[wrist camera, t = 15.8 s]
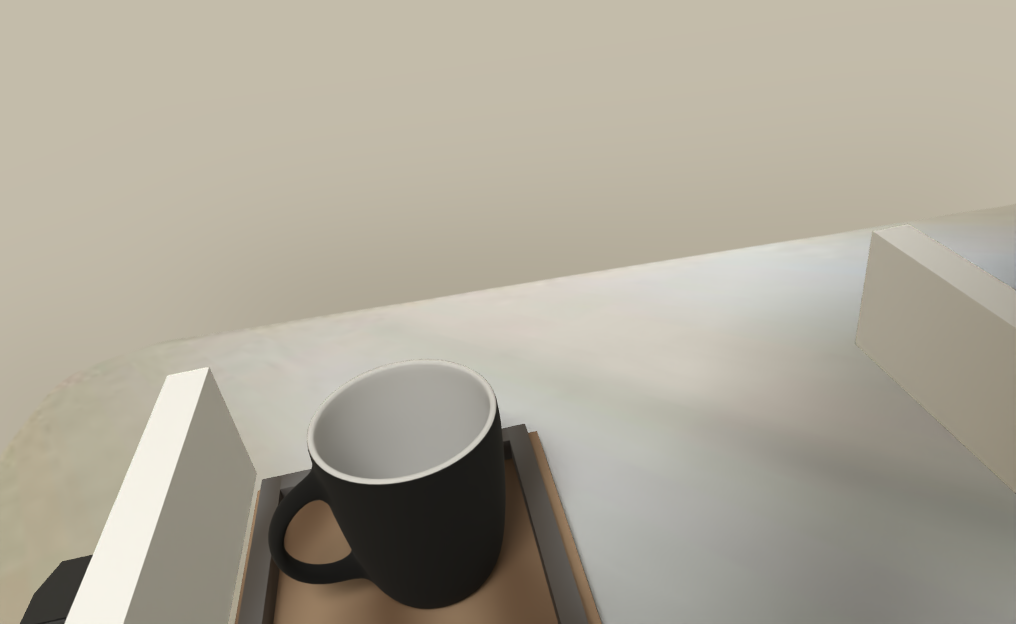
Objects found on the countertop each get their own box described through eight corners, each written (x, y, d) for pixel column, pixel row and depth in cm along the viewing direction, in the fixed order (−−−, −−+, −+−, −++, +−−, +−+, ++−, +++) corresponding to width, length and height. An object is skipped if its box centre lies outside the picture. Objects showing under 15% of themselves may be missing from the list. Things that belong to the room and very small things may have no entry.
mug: (476, 475, 43) (450, 338, 38) (552, 579, 36) (532, 427, 31) (282, 565, 39) (223, 424, 34) (326, 702, 32) (259, 551, 27)
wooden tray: (538, 445, 47) (534, 413, 45) (626, 710, 31) (624, 674, 30) (263, 504, 45) (250, 473, 43) (213, 815, 30) (190, 782, 28)
